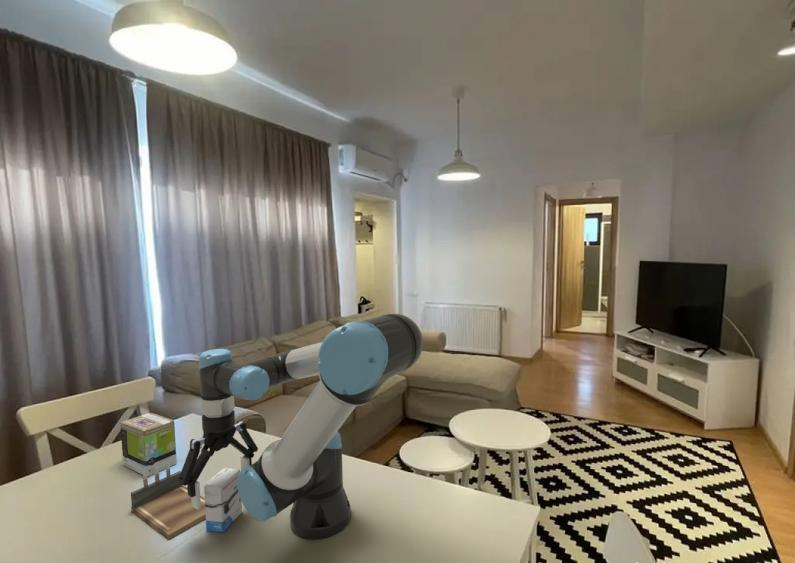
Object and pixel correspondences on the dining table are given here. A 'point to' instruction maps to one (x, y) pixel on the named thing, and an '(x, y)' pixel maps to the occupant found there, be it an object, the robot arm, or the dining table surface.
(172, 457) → the tea box
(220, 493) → the ink box
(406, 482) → the dining table surface
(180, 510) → the header board
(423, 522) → the dining table surface
